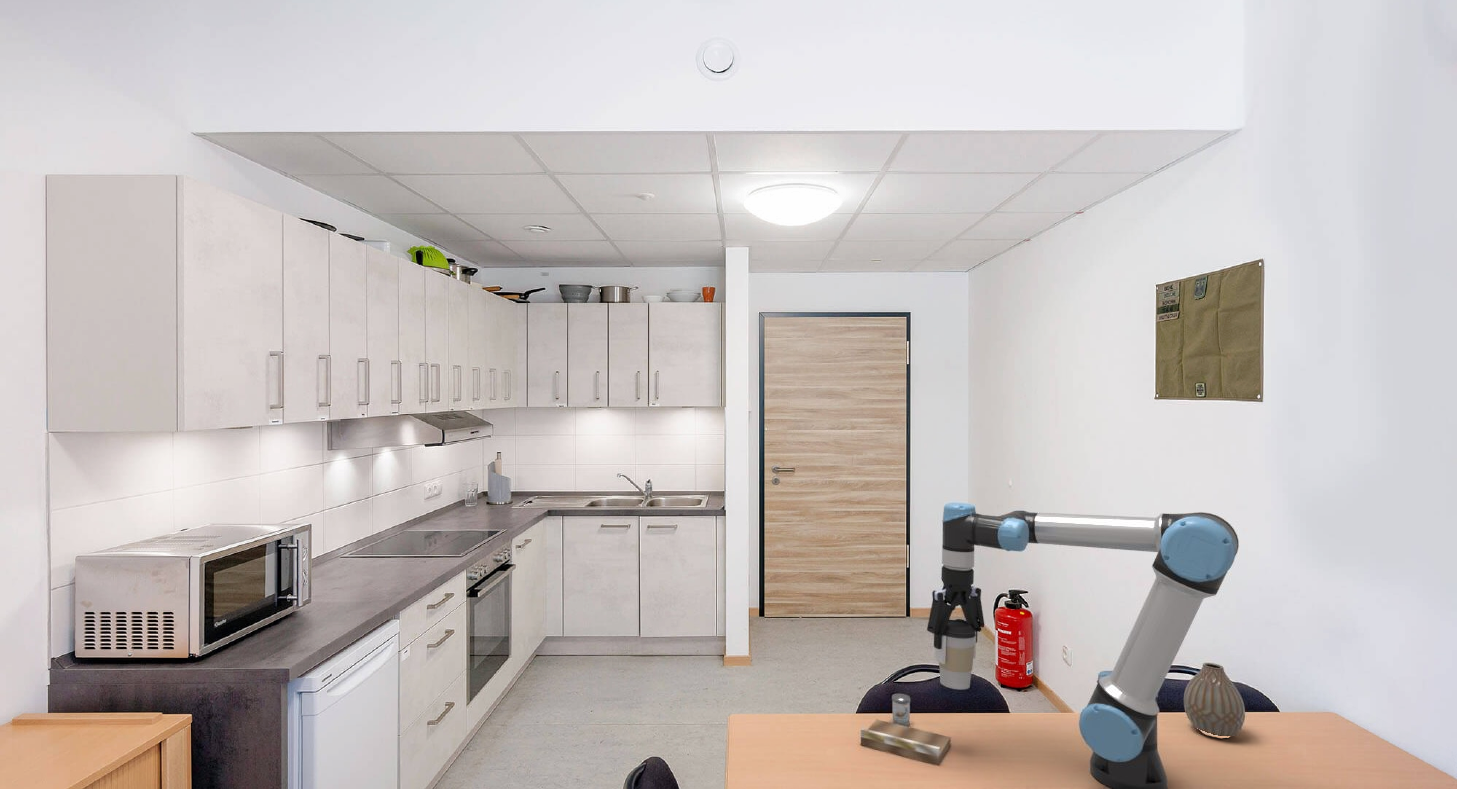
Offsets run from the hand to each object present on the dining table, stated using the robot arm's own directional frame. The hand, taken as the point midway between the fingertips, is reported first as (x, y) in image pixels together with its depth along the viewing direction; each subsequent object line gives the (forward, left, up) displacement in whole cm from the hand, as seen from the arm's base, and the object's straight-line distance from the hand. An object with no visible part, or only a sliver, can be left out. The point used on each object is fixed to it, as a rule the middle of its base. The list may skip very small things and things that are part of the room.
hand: (955, 659), depth 169 cm
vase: (-55, -47, -22) cm, 76 cm away
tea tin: (+16, -8, -22) cm, 28 cm away
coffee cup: (0, 0, -6) cm, 6 cm away
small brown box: (+11, +3, -22) cm, 25 cm away
